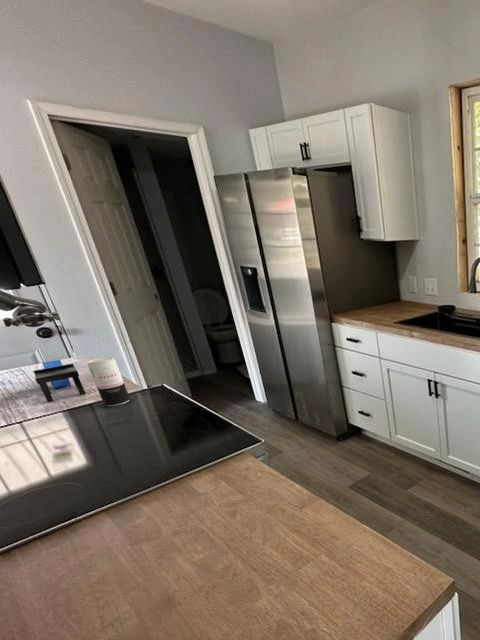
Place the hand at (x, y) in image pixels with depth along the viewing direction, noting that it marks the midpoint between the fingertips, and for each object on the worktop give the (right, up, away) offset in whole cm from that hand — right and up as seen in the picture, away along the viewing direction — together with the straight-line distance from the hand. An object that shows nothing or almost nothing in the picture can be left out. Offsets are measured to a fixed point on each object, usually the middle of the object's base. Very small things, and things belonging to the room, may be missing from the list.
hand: (33, 321), depth 153 cm
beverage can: (+46, -30, -15) cm, 57 cm away
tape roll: (+9, -24, +2) cm, 26 cm away
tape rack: (+18, -27, -6) cm, 33 cm away
